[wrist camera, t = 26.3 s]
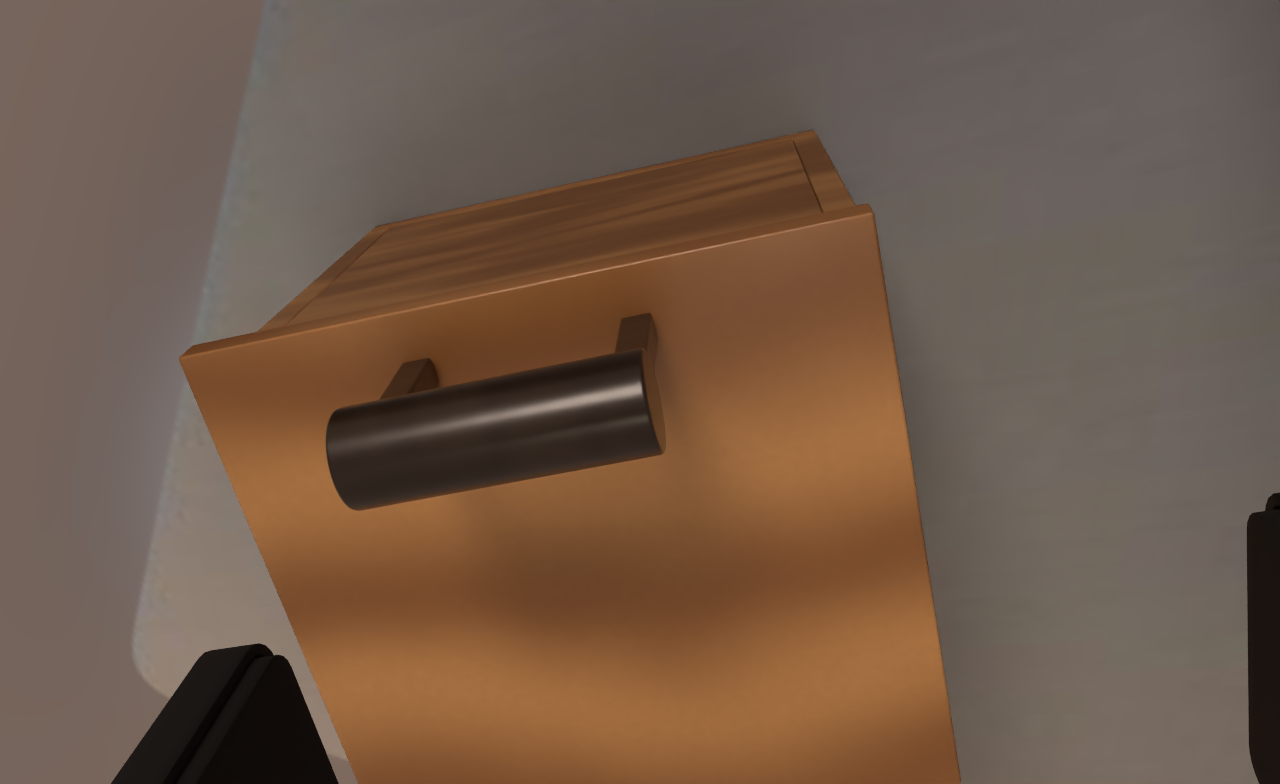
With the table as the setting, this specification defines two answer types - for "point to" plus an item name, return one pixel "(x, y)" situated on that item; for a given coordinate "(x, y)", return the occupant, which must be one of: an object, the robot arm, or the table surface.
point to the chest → (577, 225)
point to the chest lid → (603, 519)
